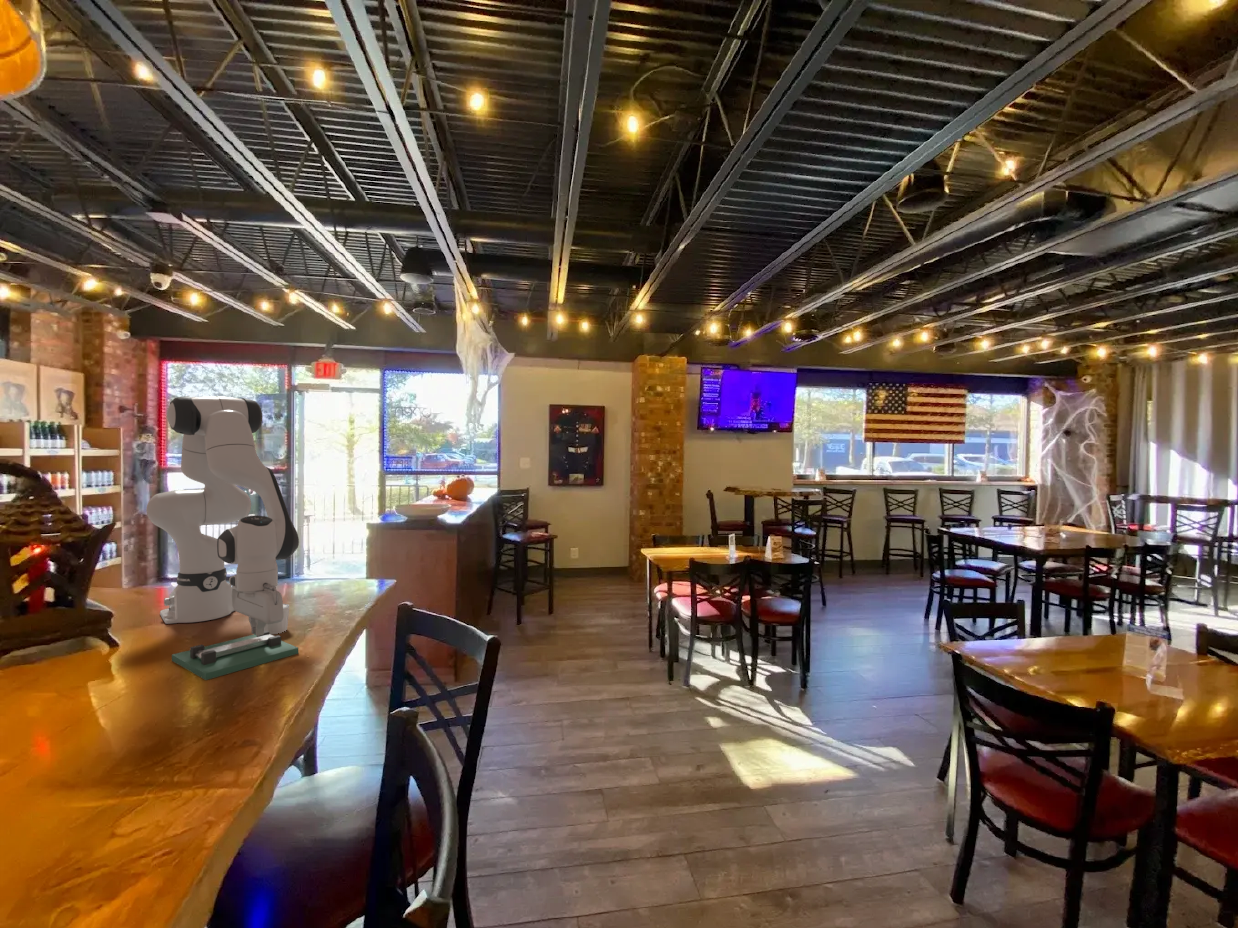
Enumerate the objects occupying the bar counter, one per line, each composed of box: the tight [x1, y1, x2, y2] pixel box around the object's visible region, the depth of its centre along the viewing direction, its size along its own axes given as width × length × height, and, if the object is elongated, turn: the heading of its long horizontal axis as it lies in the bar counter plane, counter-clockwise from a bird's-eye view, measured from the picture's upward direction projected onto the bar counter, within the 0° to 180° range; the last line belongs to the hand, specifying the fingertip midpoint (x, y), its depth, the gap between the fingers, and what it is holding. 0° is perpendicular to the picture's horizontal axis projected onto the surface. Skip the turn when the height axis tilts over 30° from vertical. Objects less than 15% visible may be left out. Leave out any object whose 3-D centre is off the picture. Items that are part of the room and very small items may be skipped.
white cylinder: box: [264, 603, 290, 635], centre depth 159 cm, size 7×7×7 cm
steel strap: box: [195, 634, 275, 659], centre depth 140 cm, size 4×16×2 cm, turn 146°
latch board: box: [171, 631, 299, 681], centre depth 139 cm, size 20×20×4 cm
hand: (257, 634), depth 144 cm, fingers closed
